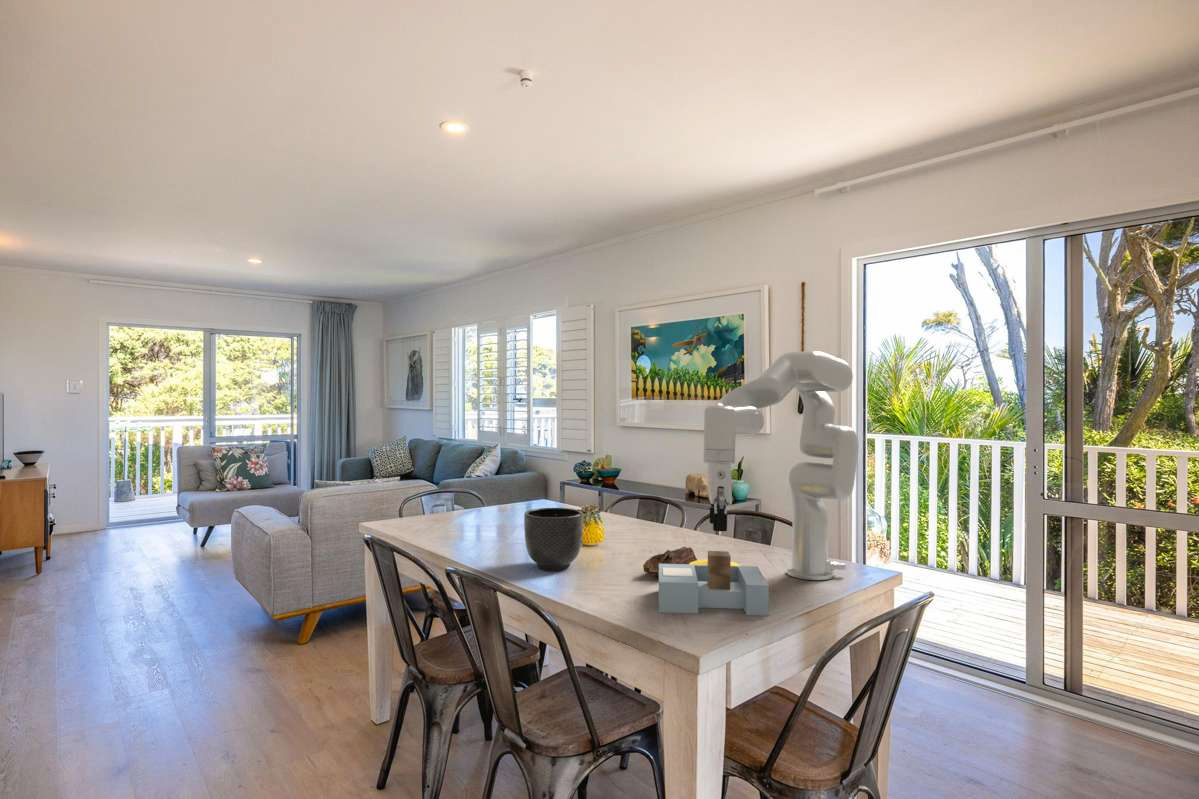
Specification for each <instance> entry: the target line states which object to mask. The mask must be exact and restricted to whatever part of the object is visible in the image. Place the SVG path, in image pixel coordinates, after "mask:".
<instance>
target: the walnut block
mask: <svg viewBox="0 0 1199 799" xmlns="http://www.w3.org/2000/svg"><path fill="white" fill-rule="evenodd" d="M731 557H732V556H731V554H730V551H729V550H727V551H726V550H725V551H723V550H707V559H708V586H709V589H724V590H730V569H731V562H732V560H731Z"/></svg>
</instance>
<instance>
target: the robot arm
mask: <svg viewBox="0 0 1199 799" xmlns="http://www.w3.org/2000/svg"><path fill="white" fill-rule="evenodd" d="M853 376H854V375H853V370H852V368H851V366H850V365H849V363H848V362H847V361H845V360H843V359H841V358H837V357H835V356H833V355H830V354H828V353H825V352H822V351H818V350H807V351H804V350H803V351H790V352H786V353H783V354H782V355H780V356H779V357H778V358H777V359H776V360H775V361H774V362H773V363H772V364H771V365H770V366H769V367H767V369H765V371H764V372H763V373H762V374H761V375H760V376H758V377H757V378H755V379H753V380H751V381H749V382H747V383H744V384H742V385H740V386H738V387H736V388H734V389H731V390H730V391H728V392H727V393H726V394H724V395H723V396H722V397H721V398H720V399H719V400H718V401H717V402H716V403H715V404H714V405H709V406H706V408H705V409H704V418H703V419H704V423H703V424H704V425H703V430H704V431H703V463H707V464H708V467H707V474H708V476H707V484H708V485H707V486H708V488H707V490H708V491H707V493H708V500H709V502H710V507H709V523H710V524H712V531H714V532H727V531H728V514H727V513H728V510H727V505H728V506H731V505H732V504H733V495H732V491H733V489H732V488H733V487H732V485H733V484H732V482H733V481H732V480H733V479H732V464H735V463H736V436H744V437H746V436H747V437H750V436H751V437H752V436H754V435H757V434H759V433H760V431H761V430H762V429H763V428H764V424H765V416H764V414H763V413H762V411H761V410H760V409H765V408H769V407H773V406H774V405H777V404H780V403H781V402H782V401H783V400H785V398H786V397H787V396H788V395H789V393H790V392H791V391H792V390H793V389H794V388H795V389H796V391H797V392H798V394H799V396H800V398H801V401H802V404H803V414H802V416H803V417H802V422H801V423H802V424H801V429H800V437H799V449H800V450H799V451H800V452H801V454H803V456H805V457H808V458H813V459H819V460H820V459H823V460H832V464H830V463H829V464H828V463H822V462H813V461H812V462H810V461H806V462H805V461H804V462H799V463H796V464H794V465H793V467H792V468H791V469H790V471H789V475H788V481H789V488H790V494H791V501H792V503H791V504H792V535H791V536H792V537H791V538H792V544H791V545H792V546H791V547H792V550H791V551H792V552H791V553H792V554H791V555H792V556H791V558H792V559H791V563H792V564H791V565H790V566H788V567H787V568H786V574H787V575H788V576H789V577H792V578H797V579H800V580H805V581H806V580H807V581H828V580H830V579H833V578H834V570H838V571H846V570H847V569H846V568H847V565H846V563H845V562H838V561H831V560H830V559H829V554H828V552H829V546H828V545H829V513H828V508H827V507H826V506H827V505H826V504H825V502H824V501H823V499H826V500H834V501H844V500H847V499H848V498H849V497H850V496H851V495H852V493H853V490H854V486H855V480H856V479H855V478H856V471H857V465H858V464H857V463H858V455H859V439H858V435H857V433H856V431H854V429H853V428H851V427H849V426H846V425H835V417H836V407H835V404H834V402H833V400H832V399H831V397H830V395H828V393H827V392H831V393H832V392H834V393H836V392H843V391H846V390H847V389H849V388H850V386H851V385H852V383H853V379H854V377H853Z"/></svg>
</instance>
